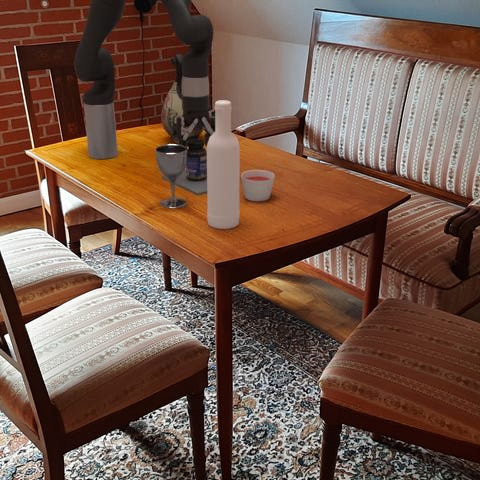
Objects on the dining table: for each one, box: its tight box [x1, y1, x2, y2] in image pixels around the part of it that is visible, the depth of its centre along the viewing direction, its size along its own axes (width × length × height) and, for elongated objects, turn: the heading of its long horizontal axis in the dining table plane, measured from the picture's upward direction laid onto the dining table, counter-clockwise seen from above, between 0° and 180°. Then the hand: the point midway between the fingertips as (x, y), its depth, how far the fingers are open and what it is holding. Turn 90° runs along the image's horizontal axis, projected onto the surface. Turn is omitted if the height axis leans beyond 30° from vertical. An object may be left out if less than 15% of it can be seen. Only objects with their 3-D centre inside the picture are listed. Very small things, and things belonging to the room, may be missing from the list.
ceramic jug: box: [160, 53, 204, 145], centre depth 211 cm, size 17×15×30 cm
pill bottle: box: [185, 138, 207, 181], centre depth 179 cm, size 6×6×11 cm
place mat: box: [161, 169, 207, 196], centre depth 180 cm, size 18×12×1 cm, turn 39°
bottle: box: [206, 99, 241, 230], centre depth 147 cm, size 8×8×30 cm
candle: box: [240, 169, 275, 202], centre depth 168 cm, size 9×9×6 cm
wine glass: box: [155, 143, 188, 209], centre depth 162 cm, size 8×8×15 cm
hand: (196, 149), depth 178 cm, fingers open, 8 cm apart
